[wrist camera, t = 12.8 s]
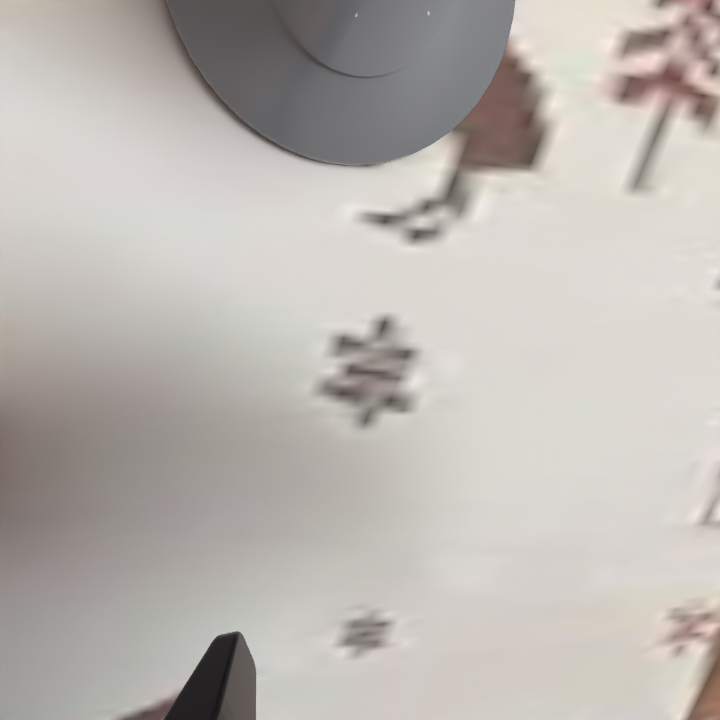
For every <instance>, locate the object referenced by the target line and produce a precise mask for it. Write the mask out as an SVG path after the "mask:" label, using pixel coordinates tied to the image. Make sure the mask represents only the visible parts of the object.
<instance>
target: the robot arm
mask: <svg viewBox="0 0 720 720" xmlns="http://www.w3.org/2000/svg"><path fill="white" fill-rule="evenodd" d="M163 720H256V669H255V664H254V660H253V658H252V655H251V653H250V651H249V648H248V646H247V644H246V641H245V639H244V637H243V635H242V634H241V633H240V632H232V633H227V634H222V635H219V636H217V637H216V638H215V639H214V640H213V642H212V643H211V645H210V646H209V648H208V650H207V651H206V653H205V654H204V656H203V657H202V659H201V661H200V662H199V664H198V665H197V667H196V669H195V670H194V672H193V673H192V675H191V677H190V678H189V680H188V681H187V683H186V684H185V686H184V688H183V689H182V691H181V692H180V694H179V696H178V697H177V699H176V700H175V702H174V703H173V705H172V707H171V708H170V710H169V711H168V713H167V715H166V716H165V718H164V719H163Z"/></svg>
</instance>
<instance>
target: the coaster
mask: <svg viewBox="0 0 720 720" xmlns="http://www.w3.org/2000/svg"><path fill="white" fill-rule="evenodd" d="M167 4H168V7H169V10H170V13H171V15H172V18H173V21H174V23H175V26H176V29H177V31H178V34H179V36H180V38H181V40H182V42H183V44H184V46H185V48H186V50H187V52H188V54H189V55H190V57H191V59H192V61H193V62H194V64H195V65H196V67H197V69H198V70H199V72H200V73H201V75H202V76H203V78H204V79H205V81H206V82H207V84H208V85H209V86H210V87H211V88H212V90H213V91H214V92H215V93H216V94H217V96H218V97H219V98H220V99H221V100H222V102H223V103H224V104H225V105H226V106H227V107H228V108H229V109H230V110H231V111H232V112H233V113H234V114H236V115H237V116H238V117H239V118H240V119H241V120H242V121H243V122H244V123H245V124H247V125H248V126H249V127H251V128H252V129H253V130H255V131H256V132H257V133H259V134H260V135H261V136H263V137H264V138H266V139H268V140H270V141H271V142H273V143H275V144H277V145H278V146H280V147H282V148H284V149H286V150H288V151H291V152H293V153H296V154H298V155H300V156H303V157H305V158H309V159H313V160H317V161H320V162H324V163H329V164H338V165H346V166H358V165H373V164H379V163H385V162H390V161H393V160H396V159H399V158H402V157H405V156H408V155H410V154H413V153H415V152H417V151H419V150H421V149H423V148H425V147H427V146H429V145H431V144H433V143H434V142H436V141H437V140H439V139H440V138H441V137H443V136H444V135H446V134H447V133H449V132H450V131H451V130H452V129H453V128H454V127H455V126H457V125H458V124H459V123H460V122H461V121H462V120H463V119H464V118H465V117H466V116H467V115H468V113H469V112H470V111H471V110H472V109H473V107H474V106H475V105H476V104H477V103H478V101H479V100H480V98H481V97H482V95H483V94H484V92H485V91H486V89H487V87H488V86H489V84H490V83H491V81H492V79H493V76H494V74H495V72H496V70H497V68H498V66H499V64H500V62H501V59H502V56H503V53H504V50H505V47H506V44H507V41H508V38H509V33H510V29H511V24H512V20H513V14H514V6H515V0H455V1H454V3H453V4H452V6H451V8H450V9H449V11H448V13H447V15H446V17H445V19H444V21H443V23H442V24H441V26H440V28H439V30H438V31H437V33H436V35H435V36H434V38H433V39H432V40H431V42H430V43H429V44H428V45H427V47H426V48H425V49H424V50H423V51H422V52H421V53H420V54H419V55H418V56H417V57H416V58H415V59H414V60H413V61H411V62H410V63H409V64H407V65H406V66H404V67H403V68H401V69H399V70H397V71H395V72H392V73H389V74H385V75H381V76H375V77H358V76H352V75H347V74H343V73H340V72H338V71H335V70H333V69H331V68H329V67H327V66H325V65H323V64H322V63H320V62H319V61H317V60H316V59H315V58H313V57H312V56H311V55H310V54H308V53H307V52H306V51H305V50H304V49H303V48H302V47H301V46H300V45H299V44H298V43H297V41H296V40H295V39H294V38H293V36H292V35H291V34H290V32H289V31H288V29H287V28H286V26H285V25H284V23H283V21H282V19H281V17H280V15H279V13H278V11H277V9H276V6H275V4H274V1H273V0H167Z"/></svg>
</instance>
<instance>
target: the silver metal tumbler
mask: <svg viewBox="0 0 720 720" xmlns="http://www.w3.org/2000/svg"><path fill="white" fill-rule="evenodd" d="M273 1H274V4H275V6H276V9H277V11H278V13H279V15H280V17H281V19H282V21H283V23H284V25H285V26H286V28H287V29H288V31H289V32H290V34H291V35H292V36H293V38H294V39H295V40H296V41H297V43H298V44H299V45H300V46H301V47H302V48H303V49H304V50H305V51H306V52H307V53H308V54H310V55H311V56H312V57H313V58H315V59H316V60H317V61H319V62H320V63H322V64H323V65H325V66H327V67H329V68H331V69H333V70H335V71H338V72H340V73H343V74H347V75H352V76H358V77H375V76H381V75H385V74H389V73H392V72H395V71H397V70H399V69H401V68H403V67H404V66H406V65H407V64H409V63H410V62H411V61H413V60H414V59H415V58H416V57H417V56H418V55H419V54H420V53H421V52H422V51H423V50H424V49H425V48H426V47H427V45H428V44H429V43H430V42H431V40H432V39H433V38H434V36H435V35H436V33H437V31H438V30H439V28H440V26H441V24H442V23H443V21H444V19H445V17H446V15H447V13H448V11H449V9H450V8H451V6H452V4H453V3H454V1H455V0H273Z"/></svg>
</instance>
